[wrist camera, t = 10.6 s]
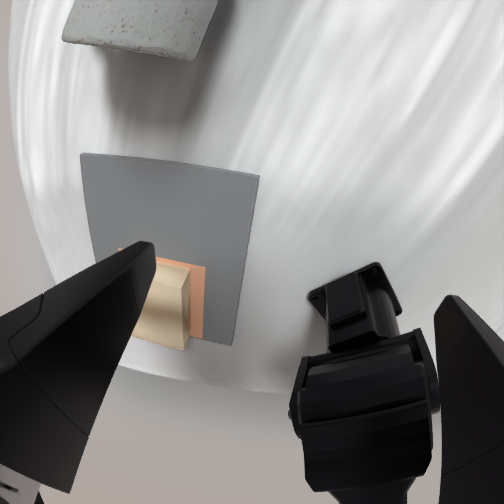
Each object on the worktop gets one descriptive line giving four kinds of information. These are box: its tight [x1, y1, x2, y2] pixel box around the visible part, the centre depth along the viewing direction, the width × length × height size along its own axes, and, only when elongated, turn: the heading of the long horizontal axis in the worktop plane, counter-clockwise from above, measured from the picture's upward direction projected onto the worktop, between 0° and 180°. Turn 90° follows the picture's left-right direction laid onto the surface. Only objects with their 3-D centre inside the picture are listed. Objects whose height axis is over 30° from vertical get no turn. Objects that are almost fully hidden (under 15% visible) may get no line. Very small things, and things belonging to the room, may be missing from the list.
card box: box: [132, 261, 191, 351], centre depth 25 cm, size 8×6×2 cm, turn 172°
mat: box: [80, 153, 260, 346], centre depth 24 cm, size 14×18×1 cm
